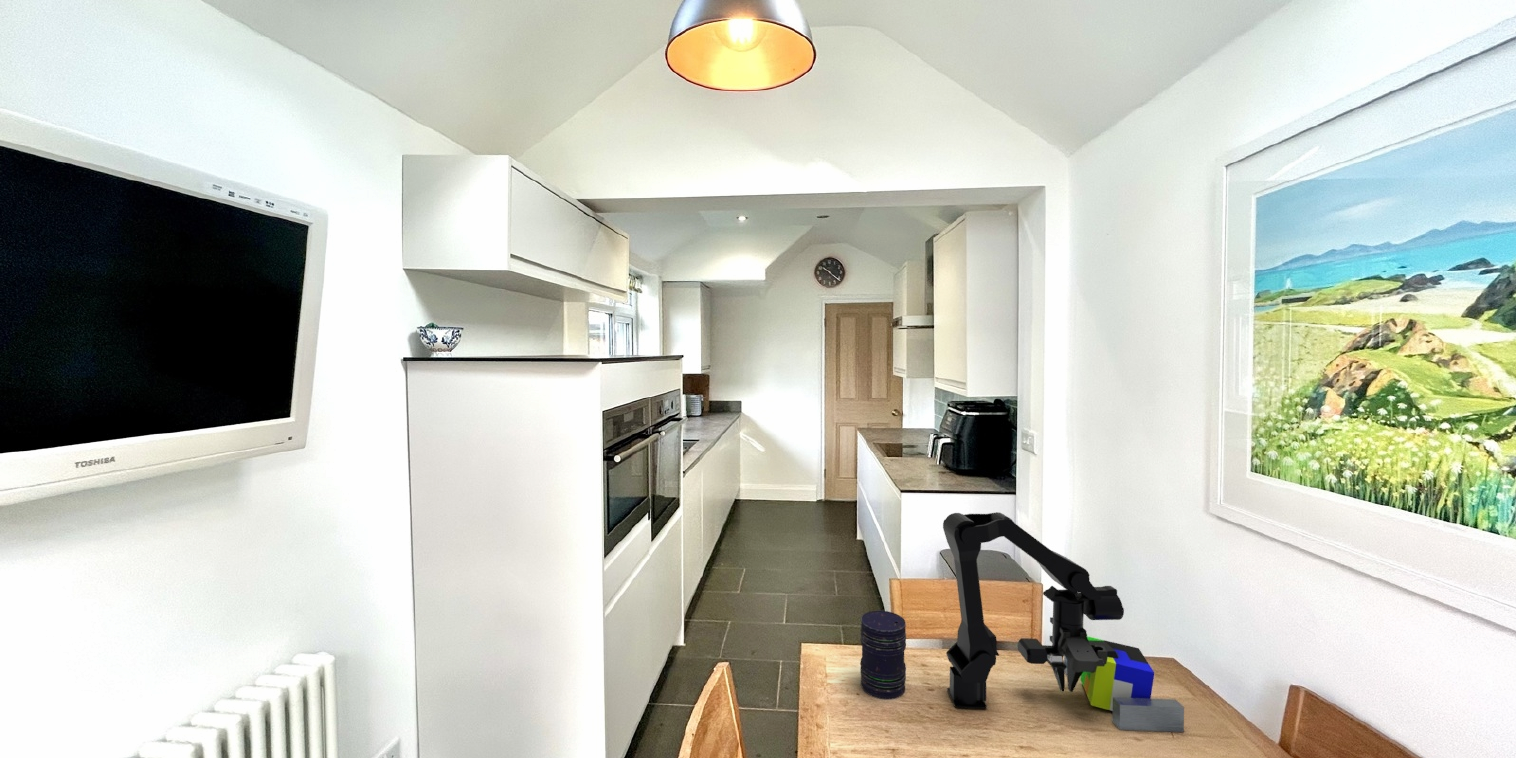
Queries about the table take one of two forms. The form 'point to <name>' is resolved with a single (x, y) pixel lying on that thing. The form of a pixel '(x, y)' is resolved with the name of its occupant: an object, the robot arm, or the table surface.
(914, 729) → the table surface
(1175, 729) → the grey rail base
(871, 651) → the storage jar
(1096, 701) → the puzzle toy
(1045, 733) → the table surface
